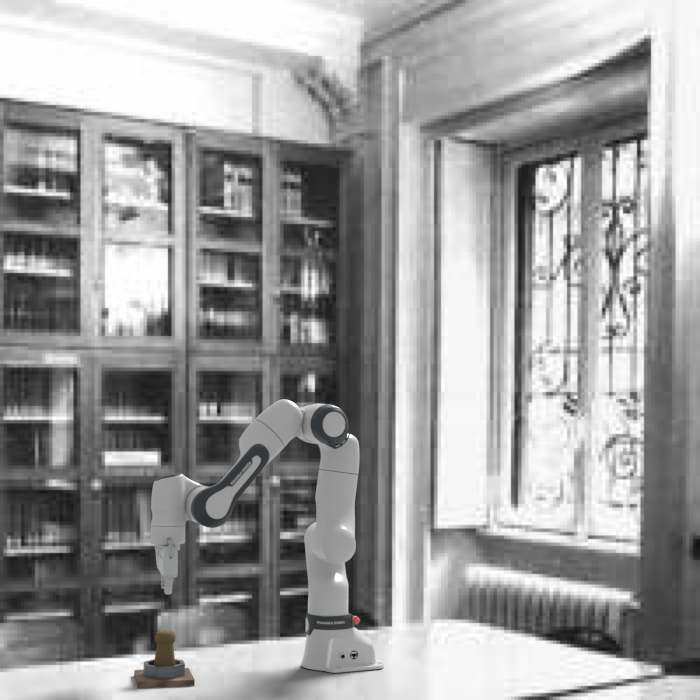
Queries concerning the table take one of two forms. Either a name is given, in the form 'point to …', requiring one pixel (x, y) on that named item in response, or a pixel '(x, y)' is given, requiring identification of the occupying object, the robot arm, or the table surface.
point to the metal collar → (164, 670)
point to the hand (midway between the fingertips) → (166, 591)
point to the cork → (164, 648)
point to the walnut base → (163, 680)
